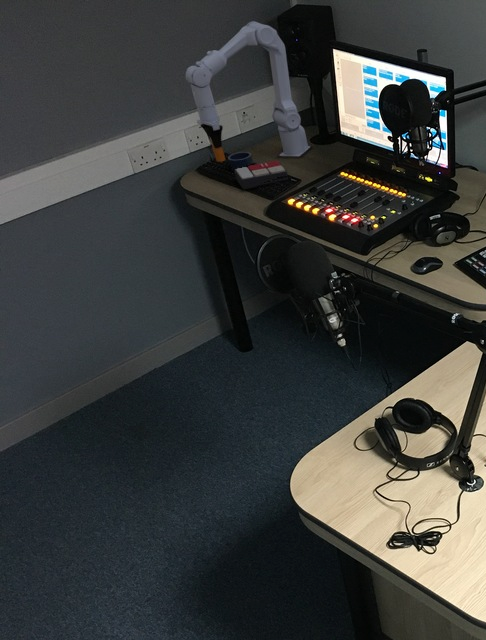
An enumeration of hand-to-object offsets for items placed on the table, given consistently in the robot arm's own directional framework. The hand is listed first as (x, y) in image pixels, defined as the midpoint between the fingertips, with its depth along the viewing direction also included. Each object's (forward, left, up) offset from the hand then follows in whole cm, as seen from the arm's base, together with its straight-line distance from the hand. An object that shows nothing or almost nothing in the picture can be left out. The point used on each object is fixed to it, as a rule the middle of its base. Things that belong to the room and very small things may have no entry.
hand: (216, 145), depth 279 cm
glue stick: (0, 0, -5) cm, 5 cm away
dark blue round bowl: (-7, +3, -10) cm, 13 cm away
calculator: (+3, +16, -10) cm, 19 cm away
